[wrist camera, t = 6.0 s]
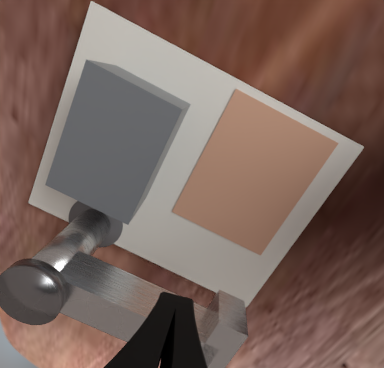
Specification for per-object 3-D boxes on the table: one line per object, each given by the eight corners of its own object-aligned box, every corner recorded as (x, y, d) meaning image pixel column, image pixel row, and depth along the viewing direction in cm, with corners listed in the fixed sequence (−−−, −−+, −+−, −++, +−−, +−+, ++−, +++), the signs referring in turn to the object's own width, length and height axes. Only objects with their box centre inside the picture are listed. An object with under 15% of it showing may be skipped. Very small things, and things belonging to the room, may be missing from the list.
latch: (208, 307, 22) (202, 413, 15) (63, 242, 21) (-15, 320, 14) (239, 257, 20) (249, 350, 13) (83, 185, 19) (5, 242, 12)
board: (356, 143, 18) (365, 147, 17) (239, 306, 23) (240, 317, 22) (98, 5, 17) (90, 0, 16) (33, 208, 22) (23, 214, 21)
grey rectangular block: (190, 104, 17) (182, 109, 14) (145, 198, 20) (128, 225, 16) (115, 65, 17) (86, 59, 13) (79, 165, 19) (45, 184, 16)
